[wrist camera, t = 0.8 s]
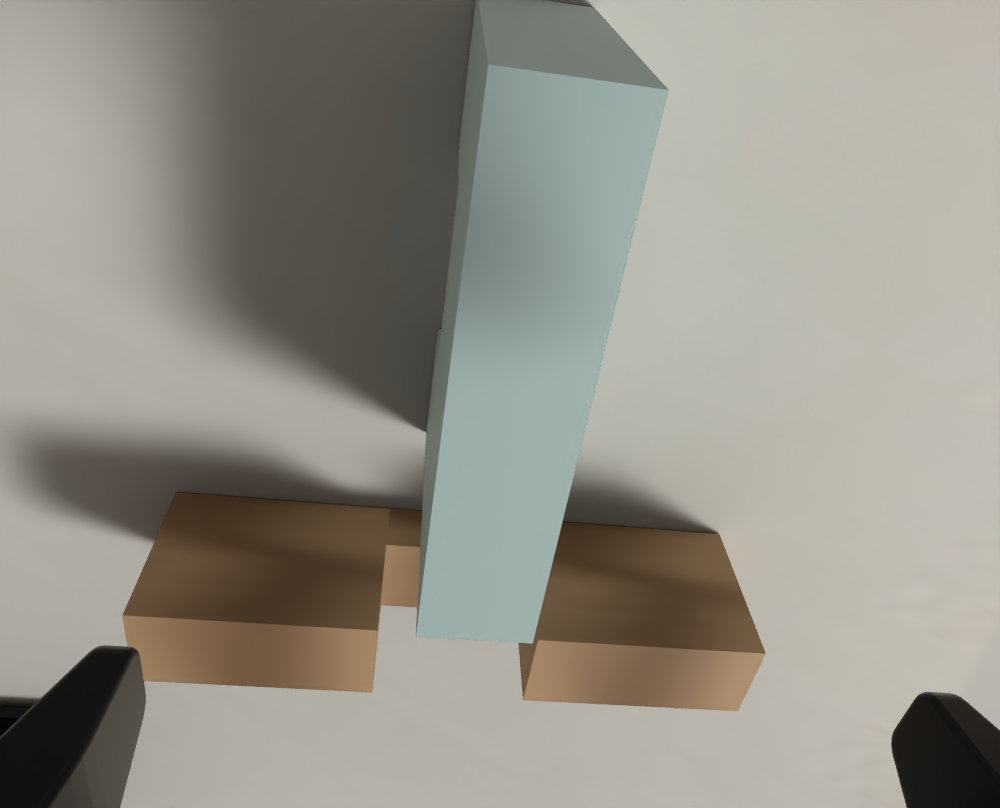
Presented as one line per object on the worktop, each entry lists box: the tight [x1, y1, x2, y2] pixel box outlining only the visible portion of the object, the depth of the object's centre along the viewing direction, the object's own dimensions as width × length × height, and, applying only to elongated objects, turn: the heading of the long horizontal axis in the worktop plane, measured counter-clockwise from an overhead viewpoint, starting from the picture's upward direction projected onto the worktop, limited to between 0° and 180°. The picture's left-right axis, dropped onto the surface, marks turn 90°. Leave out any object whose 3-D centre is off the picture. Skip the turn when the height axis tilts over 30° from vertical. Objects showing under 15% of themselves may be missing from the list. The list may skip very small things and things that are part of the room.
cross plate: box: [416, 0, 668, 644], centre depth 17 cm, size 2×11×7 cm, turn 172°
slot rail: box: [123, 492, 766, 711], centre depth 23 cm, size 16×2×4 cm, turn 82°
